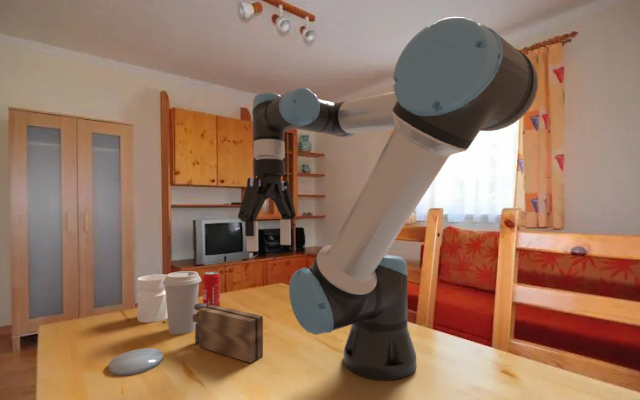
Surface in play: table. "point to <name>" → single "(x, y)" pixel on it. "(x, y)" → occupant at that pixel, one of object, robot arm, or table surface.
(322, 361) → the table surface
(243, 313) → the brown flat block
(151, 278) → the vase
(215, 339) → the tongs hinged jaw
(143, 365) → the grey domed disc
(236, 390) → the table surface
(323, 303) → the robot arm
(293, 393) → the table surface
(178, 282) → the coffee cup
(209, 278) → the beverage can
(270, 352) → the table surface
